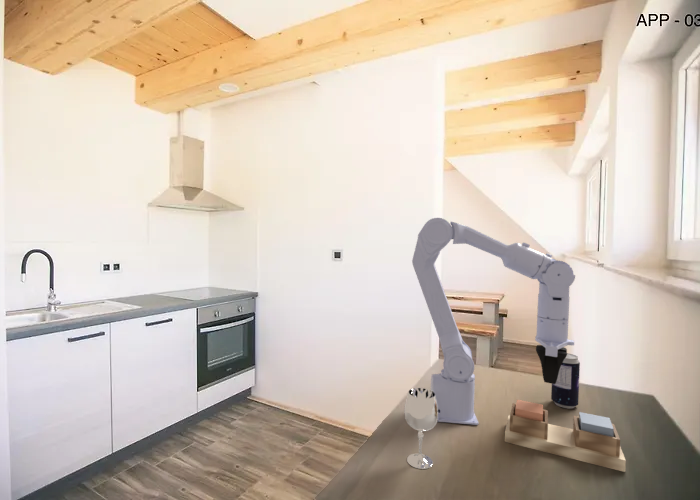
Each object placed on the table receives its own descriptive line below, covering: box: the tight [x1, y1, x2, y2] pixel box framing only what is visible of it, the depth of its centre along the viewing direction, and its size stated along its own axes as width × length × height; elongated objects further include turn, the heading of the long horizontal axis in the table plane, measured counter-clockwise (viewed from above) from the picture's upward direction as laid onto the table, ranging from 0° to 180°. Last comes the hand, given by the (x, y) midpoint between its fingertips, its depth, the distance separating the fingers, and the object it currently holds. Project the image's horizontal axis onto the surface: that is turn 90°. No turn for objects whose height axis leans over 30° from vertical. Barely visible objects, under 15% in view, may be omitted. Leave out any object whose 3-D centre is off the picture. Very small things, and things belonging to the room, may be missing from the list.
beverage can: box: [550, 353, 581, 410], centre depth 89 cm, size 6×6×12 cm
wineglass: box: [404, 387, 438, 470], centre depth 64 cm, size 6×6×12 cm
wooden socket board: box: [504, 402, 627, 473], centre depth 71 cm, size 19×8×5 cm, turn 62°
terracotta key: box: [515, 399, 544, 422], centre depth 73 cm, size 5×5×3 cm
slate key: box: [578, 411, 614, 437], centre depth 68 cm, size 5×5×3 cm
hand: (549, 382), depth 77 cm, fingers closed
